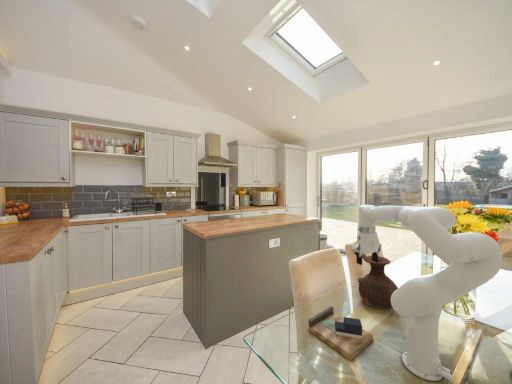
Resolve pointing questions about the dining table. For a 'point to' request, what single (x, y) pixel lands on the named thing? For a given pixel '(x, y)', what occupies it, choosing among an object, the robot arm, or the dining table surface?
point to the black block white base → (349, 328)
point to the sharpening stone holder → (325, 330)
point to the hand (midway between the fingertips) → (367, 262)
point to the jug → (376, 284)
